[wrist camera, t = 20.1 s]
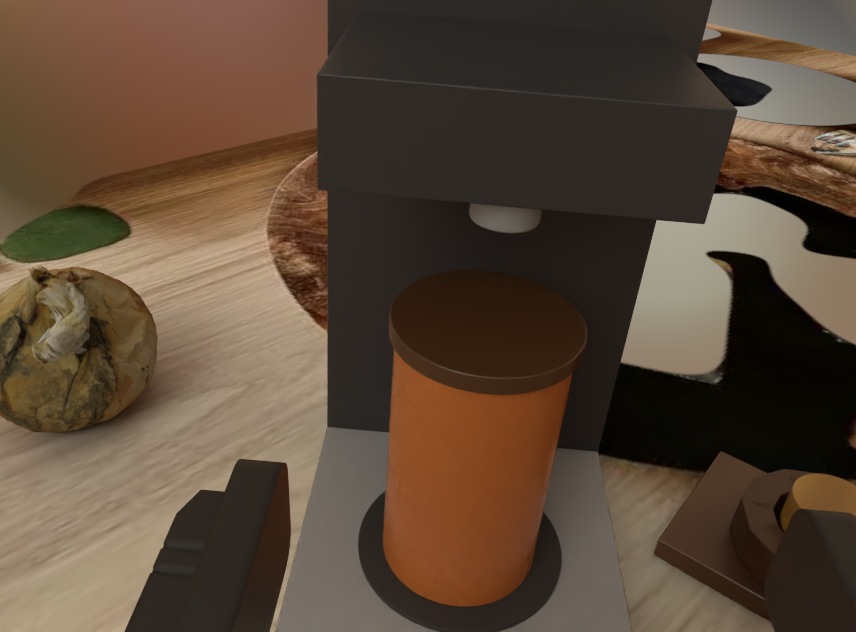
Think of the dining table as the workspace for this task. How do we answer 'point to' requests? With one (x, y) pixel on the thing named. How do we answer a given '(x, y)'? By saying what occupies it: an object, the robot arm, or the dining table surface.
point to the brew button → (819, 496)
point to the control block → (730, 529)
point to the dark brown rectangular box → (493, 255)
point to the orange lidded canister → (474, 429)
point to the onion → (72, 349)
